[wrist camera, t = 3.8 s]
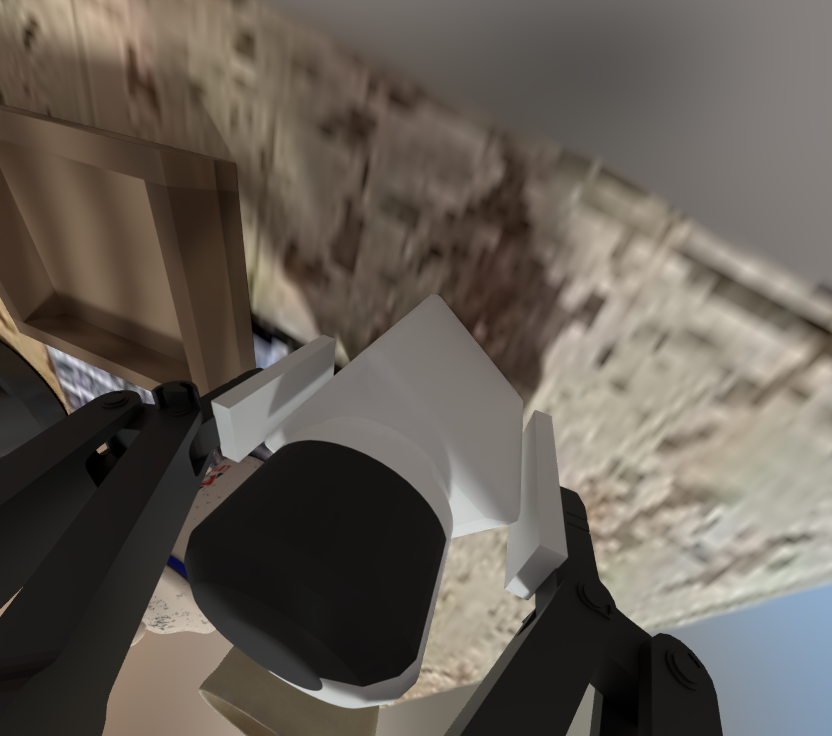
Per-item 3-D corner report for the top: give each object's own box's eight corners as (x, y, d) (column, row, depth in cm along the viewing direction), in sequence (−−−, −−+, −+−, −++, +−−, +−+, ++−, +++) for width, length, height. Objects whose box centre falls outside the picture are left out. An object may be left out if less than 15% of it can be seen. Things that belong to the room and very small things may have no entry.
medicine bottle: (349, 364, 18) (109, 567, 7) (437, 288, 14) (192, 493, 4) (425, 449, 19) (305, 727, 9) (526, 400, 15) (522, 792, 5)
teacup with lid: (230, 432, 25) (40, 572, 15) (317, 493, 25) (181, 674, 15) (215, 496, 32) (76, 622, 22) (284, 544, 32) (175, 693, 22)
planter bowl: (333, 547, 28) (241, 706, 19) (437, 648, 31) (399, 831, 22) (261, 567, 37) (173, 685, 28) (348, 646, 39) (293, 777, 30)
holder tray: (80, 318, 25) (19, 332, 22) (-12, 101, 17) (-122, 78, 14) (258, 392, 21) (215, 420, 18) (235, 163, 14) (158, 149, 11)
